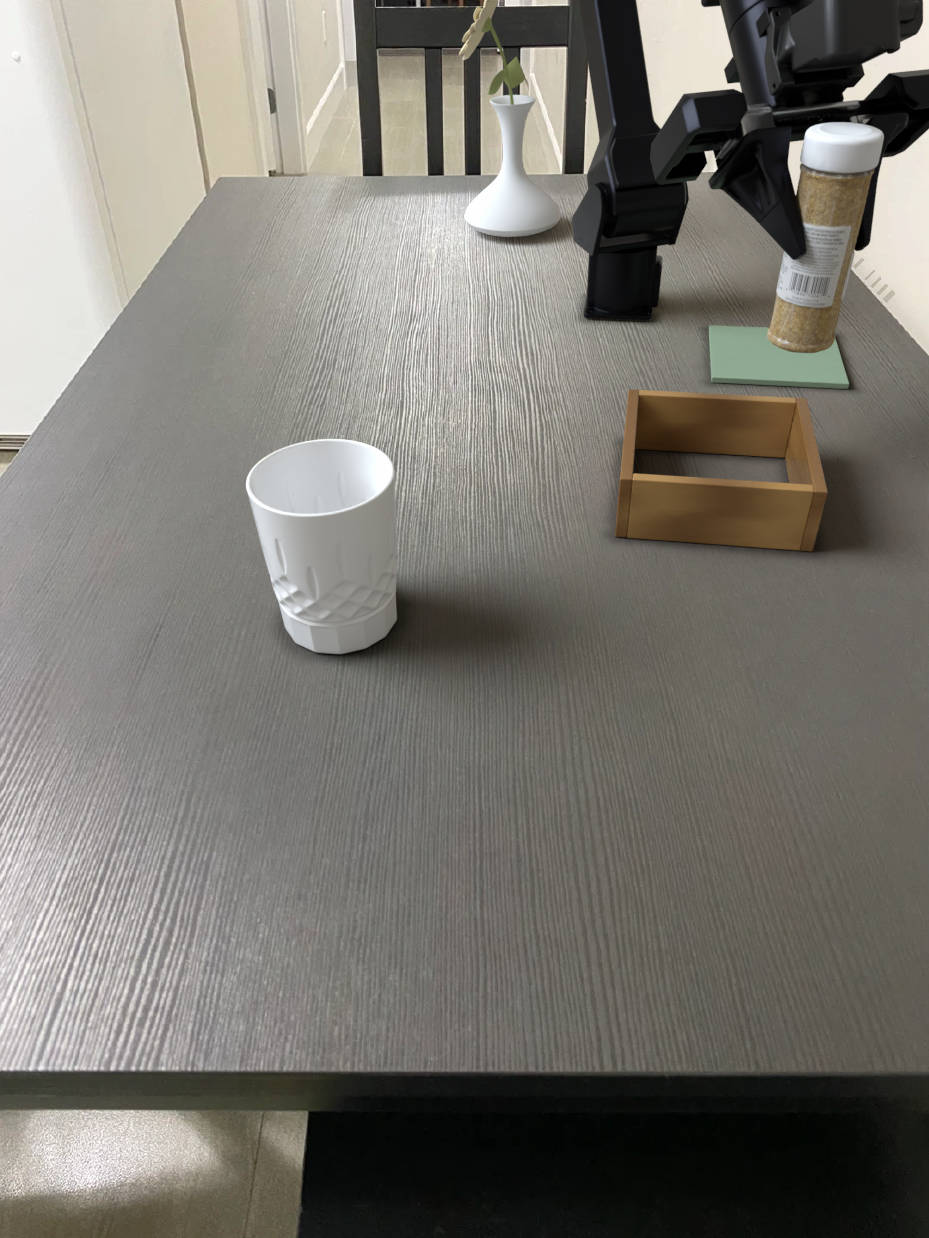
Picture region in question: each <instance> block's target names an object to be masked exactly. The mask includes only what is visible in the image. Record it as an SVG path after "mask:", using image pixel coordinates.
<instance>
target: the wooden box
mask: <svg viewBox="0 0 929 1238" xmlns="http://www.w3.org/2000/svg"><path fill="white" fill-rule="evenodd" d="M816 437H817V436H816V433H815V429H814V423H813V420H812V414H811V411H810V406H809V401H808V398H806V397H805V398H804V397H789V396H788V397H786V396H769V395H768V396H767V395H766V396H765V395H748V394H747V395H746V394H728V393H727V394H726V393H710V392H709V393H708V392H690V391H689V392H688V391H672V390H671V391H669V390H649V389H628V390H627V401H626V411H625V421H624V430H623V441H622V452H621V462H620V473H619V484H618V496H617V505H616V519H615V530H614V536H615V538H627V539H639V540H652V541H666V542H679V543H680V542H681V543H692V544H707V545H719V546H731V547H732V546H734V547H745V548H746V547H747V548H757V549H758V548H759V549H775V550H786V551H802V552H813V551H814V548H815V544H816V540H817V536H818V532H819V528H820V525H821V521H822V516H823V513H824V509H825V505H826V501H827V497H828V494H829V493H828V487H827V483H826V478H825V475H824V470H823V465H822V461H821V460H822V459H821V456H820V451H819V447H818V442H817V438H816ZM636 450H646V451H661V452H662V451H664V452H680V453H695V454H712V455H713V454H714V455H730V456H746V457H747V456H748V457H760V458H761V457H764V458H781V459H784V460H785V466H786V473H787V478H788V482H775V481H758V480H743V479H731V478H730V479H727V478H714V477H713V478H711V477H698V476H684V475H683V476H682V475H669V474H667V475H665V474H651V473H650V474H649V473H635V472H634V467H635V455H636V454H635V453H636Z"/></svg>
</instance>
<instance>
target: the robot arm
mask: <svg viewBox="0 0 929 1238" xmlns="http://www.w3.org/2000/svg"><path fill="white" fill-rule="evenodd" d="M577 2H578V7H579V15H580V22H581V27H582V34H583V40H584V47H585V53H586V59H587V66H588V72H589V79H590V85H591V92H592V99H593V105H594V112H595V118H596V126H597V131H598V139H599V140H598V143H597V146H596V149H595V151H594V154H593V157H592V160H591V162H590V165H589V168H588V170H587V173H586V180H587V182H586V183H587V190H586V192H585V194H584V196H583V198H582V199H581V201H580V203H579V205H578V206H577V208H576V210H575V212H574V214H573V215H572V216H571V224H572V225H571V226H572V237H573V242H574V243H575V244H576V245H577V246H579V247H580V248H581V249H583V250H584V251H585V252H586V253H587V254H588V264H587V265H588V266H587V280H586V281H587V284H586V298H585V304H584V309H583V318H586V319H599V320H600V319H601V320H627V321H628V320H629V321H651V320H652V319H653V314H654V313H653V312H654V311H653V310H654V309H656V308H658V306H659V302H660V292H661V291H660V290H661V281H662V270H663V256H662V255H660V254H659V255H658V247H660V246H667V245H668V246H674V245H676V243H677V239H678V237H679V233H680V230H681V227H682V224H683V221H684V217H685V214H686V211H687V208H688V205H689V200H690V197H689V187H688V182H693V181H694V182H695V181H697V179H698V178H699V177H700V175H701V174H702V173H703V171H704V169H705V168H706V166H707V164H708V159H707V156H706V152H713V155H714V159H715V164H716V168H717V169H716V170H715V171H714V173H713V174H712V175H711V176H710V178H709V179H708V181H707V182H708V185H709V188H710V189H711V190H713V191H714V190H721V191H722V192H724V193H725V194H726V195H727V196H729V197H730V198H731V199H732V200H733V201H734V202H735V203H736V204H738V205H739V206H740V207H741V208H742V209H743V210H744V211H746V212H747V213H748V214H749V215H750V216H751V217H752V218H753V219H754V220H755V221H756V222H757V223H758V224H759V225H760V227H761V228H763V230H765V232H766V233H767V234H768V235H769V236H770V237H771V238H772V239H773V241H775V243H776V244H777V245H778V246H779V247H780V248H781V249H782V250H783V252H784V251H785V252H786V253H787V254H788V255H789V256H790V257H791V259H793V260H798V259H800V258H801V257H802V256H804V255H805V253H806V242H805V234H804V228H803V223H802V219H801V215H800V211H799V207H798V203H797V200H796V192H795V189H794V184H793V180H792V177H791V176H792V175H791V171H790V168H789V156H790V145H791V143H793V142H794V143H795V142H801V141H804V137H805V133H806V131H807V130H808V129H809V128H810V127H812V126H814V125H817V124H822V123H829V122H849V123H859V124H864V125H869V126H872V127H875V128H877V129H879V130H881V131H882V132H883V134H884V140H883V145H882V150H881V154H880V159H879V163H878V165H877V166H876V167H875V168H874V173H873V174H872V176H871V180H870V184H869V190H868V195H867V198H866V203H865V208H864V212H863V216H862V220H861V225H860V229H859V233H858V237H857V242H856V244H855V249H854V252H860V251H863V250H864V249H865V248H867V247H868V246H869V245H870V243H871V238H872V229H873V222H874V213H875V205H876V198H877V197H876V196H877V188H878V182H879V175H880V171H881V166H882V162H883V159H884V158H892V157H895V156H896V155H899V154H901V153H903V152H906V150H908V149H909V148H910V147H911V146H912V145H913V144H914V143H916V141H918V140H919V139H920V138H921V137H922V136H923V135H924V134H926V132H927V131H928V130H929V68H927V69H915V70H907V71H897V72H889V73H887V74H886V76H885V77H883V79H881V80H880V82H879V83H878V84H877V85H875V87H874V88H873V89H872V90H871V92H869V93H868V95H866V97H865V98H864V99H860V100H859V99H854V100H846V101H845V97H844V92H846V90H847V89H851V88H854V87H856V86H857V84H858V83H859V82H860V81H861V80H862V79H863V78H864V76H865V70H864V67H863V66H864V65H863V64H866V63H867V62H869V61H872V60H874V59H876V58H878V57H880V56H882V55H884V54H888V55H891V54H894V53H897V52H899V50H900V49H901V43H902V42H904V41H906V40H908V39H911V38H912V37H914V36H916V35H918V33H919V32H920V30H921V28H922V26H923V24H924V0H700V4H701V7H703V8H712V7H713V8H714V7H720V9H721V13H722V17H723V22H724V25H725V31H726V33H727V38H728V41H729V46H730V51H731V54H732V56H731V58H730V60H729V61H728V63H727V65H726V66H725V67H724V69H723V72H724V76H725V81H726V84H737V83H738V84H739V86H740V87H739V88H740V90H741V91H740V90H737V89H735V88H729V89H728V88H727V89H717V90H708V91H699V92H689V93H683V94H682V95H681V97H680V98H679V100H678V101H677V103H676V105H675V106H674V108H673V109H672V111H671V112H670V114H669V116H668V117H667V119H666V120H665V122H664V123H663V125H662V127H660V126H659V125H658V124H657V122H656V121H655V118H654V112H653V106H652V100H651V99H652V98H651V91H650V86H649V79H648V71H647V64H646V58H645V57H646V56H645V51H644V50H645V49H644V43H643V37H642V31H641V23H640V18H639V9H638V3H637V2H638V1H637V0H577Z"/></svg>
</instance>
